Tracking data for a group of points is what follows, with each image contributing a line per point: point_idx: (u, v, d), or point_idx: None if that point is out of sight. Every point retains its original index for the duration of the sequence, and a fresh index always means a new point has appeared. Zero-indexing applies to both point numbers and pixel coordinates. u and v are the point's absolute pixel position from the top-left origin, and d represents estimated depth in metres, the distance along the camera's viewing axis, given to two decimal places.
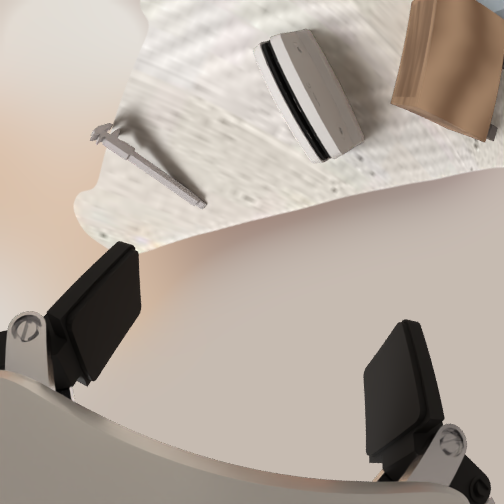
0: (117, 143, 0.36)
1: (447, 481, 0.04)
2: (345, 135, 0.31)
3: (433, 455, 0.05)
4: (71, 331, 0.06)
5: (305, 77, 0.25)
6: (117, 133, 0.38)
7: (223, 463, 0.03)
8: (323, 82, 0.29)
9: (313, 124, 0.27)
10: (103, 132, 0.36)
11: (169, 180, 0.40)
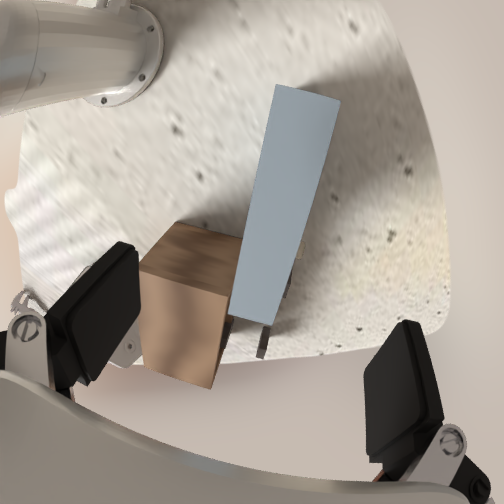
0: None
1: (447, 481, 0.04)
2: (136, 345, 0.43)
3: (433, 455, 0.05)
4: (71, 331, 0.06)
5: None
6: (26, 300, 0.49)
7: (223, 463, 0.03)
8: None
9: None
10: (17, 304, 0.47)
11: None
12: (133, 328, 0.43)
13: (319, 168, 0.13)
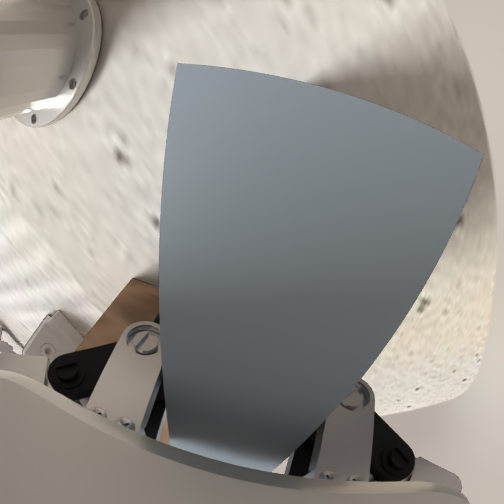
0: (0, 346, 0.39)
1: (339, 435, 0.05)
2: None
3: (337, 418, 0.05)
4: None
5: None
6: (0, 333, 0.40)
7: (223, 463, 0.03)
8: None
9: None
10: None
11: None
12: None
13: (349, 380, 0.04)
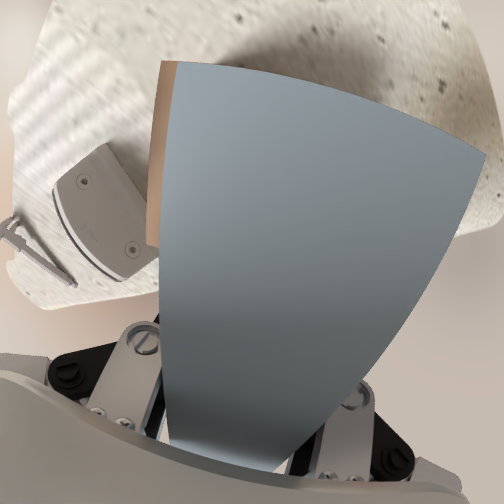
0: (12, 238, 0.40)
1: (339, 435, 0.05)
2: (141, 250, 0.35)
3: (337, 418, 0.05)
4: None
5: (81, 217, 0.29)
6: (14, 227, 0.42)
7: (223, 463, 0.03)
8: (117, 201, 0.33)
9: (93, 260, 0.31)
10: (3, 229, 0.39)
11: (48, 268, 0.43)
12: (139, 227, 0.35)
13: (350, 381, 0.04)
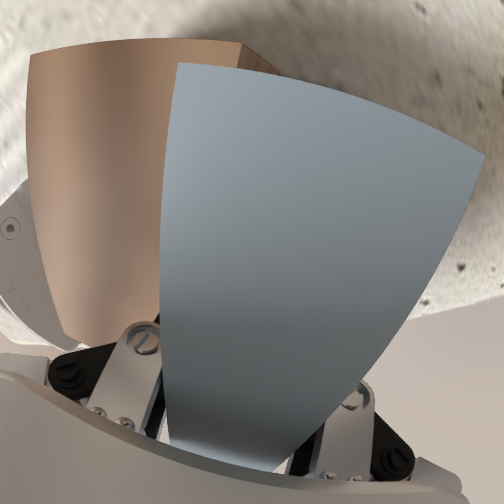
0: None
1: (339, 434, 0.05)
2: None
3: (337, 418, 0.05)
4: None
5: (8, 277, 0.19)
6: None
7: (223, 463, 0.03)
8: None
9: (29, 329, 0.20)
10: None
11: (5, 307, 0.33)
12: None
13: (350, 381, 0.04)
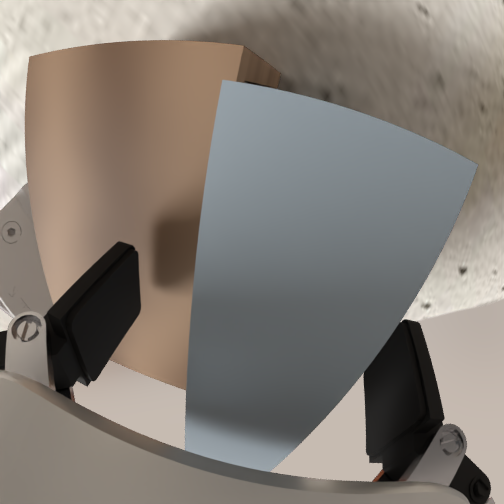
0: None
1: (447, 481, 0.04)
2: None
3: (433, 455, 0.05)
4: (71, 331, 0.06)
5: (10, 281, 0.19)
6: None
7: (223, 463, 0.03)
8: None
9: None
10: None
11: (6, 309, 0.33)
12: None
13: (361, 363, 0.04)
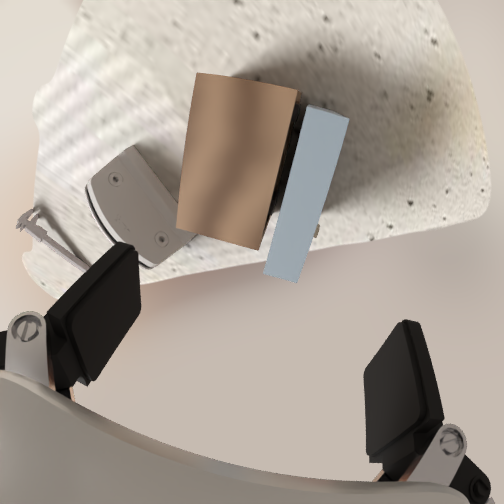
0: (34, 229, 0.45)
1: (447, 481, 0.04)
2: (169, 239, 0.39)
3: (433, 455, 0.05)
4: (71, 331, 0.06)
5: (115, 210, 0.34)
6: (35, 218, 0.47)
7: (223, 463, 0.03)
8: (146, 196, 0.38)
9: None
10: (24, 220, 0.44)
11: (69, 257, 0.48)
12: (166, 219, 0.40)
13: (334, 163, 0.19)
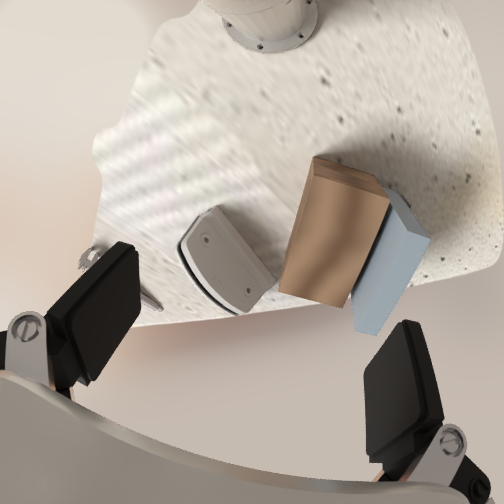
0: None
1: (447, 481, 0.04)
2: (254, 289, 0.47)
3: (433, 455, 0.05)
4: (71, 331, 0.06)
5: (210, 270, 0.42)
6: (96, 258, 0.54)
7: (223, 463, 0.03)
8: (232, 253, 0.46)
9: (221, 302, 0.43)
10: (86, 260, 0.52)
11: None
12: (250, 272, 0.47)
13: (416, 266, 0.27)
